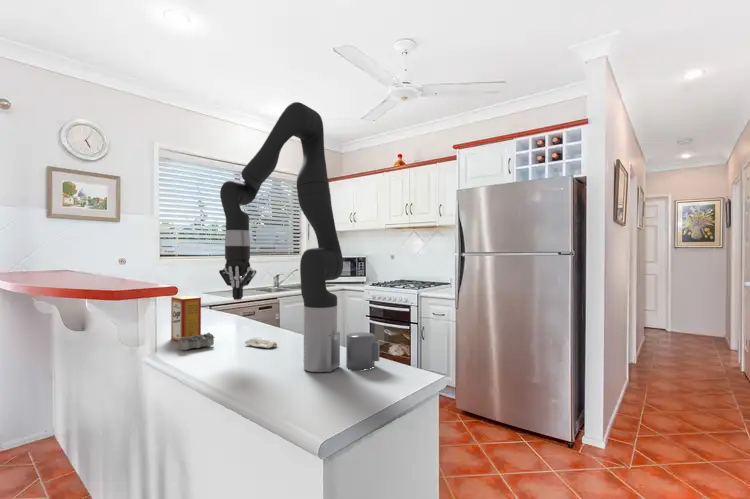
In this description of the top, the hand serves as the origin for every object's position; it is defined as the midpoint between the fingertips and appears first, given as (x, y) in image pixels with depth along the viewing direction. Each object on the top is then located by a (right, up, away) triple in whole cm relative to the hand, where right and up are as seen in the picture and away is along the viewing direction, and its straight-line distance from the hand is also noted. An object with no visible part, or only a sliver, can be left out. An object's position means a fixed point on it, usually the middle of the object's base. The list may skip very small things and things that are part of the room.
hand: (237, 299), depth 125 cm
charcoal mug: (+39, -17, -14) cm, 45 cm away
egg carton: (-14, -18, +5) cm, 23 cm away
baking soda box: (-25, -18, +19) cm, 36 cm away
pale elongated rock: (+4, -18, +8) cm, 20 cm away
